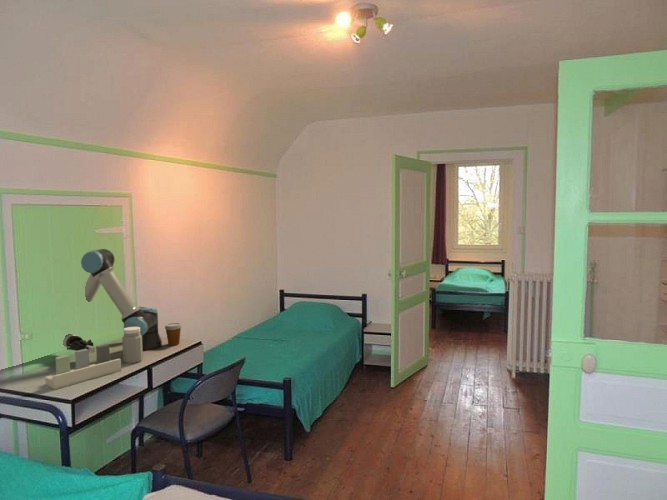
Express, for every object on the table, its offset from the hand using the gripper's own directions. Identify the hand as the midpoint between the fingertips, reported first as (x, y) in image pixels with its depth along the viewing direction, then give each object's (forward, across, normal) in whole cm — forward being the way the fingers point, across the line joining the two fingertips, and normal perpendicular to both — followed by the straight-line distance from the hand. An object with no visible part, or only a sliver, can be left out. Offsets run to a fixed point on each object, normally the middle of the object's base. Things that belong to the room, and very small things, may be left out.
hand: (93, 349), depth 241 cm
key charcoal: (+10, 0, -8) cm, 13 cm away
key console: (+12, +10, -9) cm, 18 cm away
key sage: (+13, +20, -8) cm, 25 cm away
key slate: (+10, +10, -8) cm, 16 cm away
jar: (+8, -17, -9) cm, 21 cm away
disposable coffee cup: (-3, -49, -9) cm, 50 cm away
